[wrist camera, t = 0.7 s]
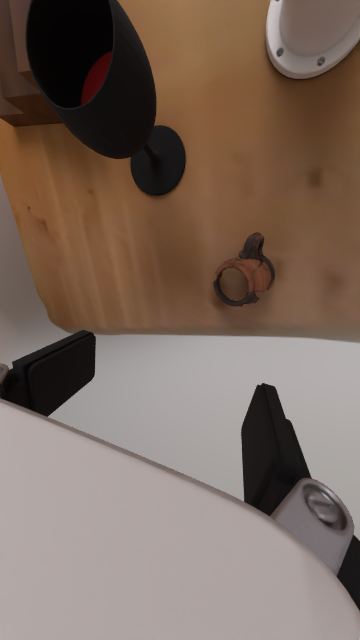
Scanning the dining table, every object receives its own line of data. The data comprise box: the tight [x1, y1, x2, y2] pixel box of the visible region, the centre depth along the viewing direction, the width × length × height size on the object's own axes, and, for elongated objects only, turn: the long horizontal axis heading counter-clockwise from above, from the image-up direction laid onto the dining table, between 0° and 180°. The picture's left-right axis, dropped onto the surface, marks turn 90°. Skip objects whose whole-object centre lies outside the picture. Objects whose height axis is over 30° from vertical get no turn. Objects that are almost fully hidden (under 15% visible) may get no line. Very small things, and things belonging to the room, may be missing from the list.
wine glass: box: [25, 0, 185, 196], centre depth 25 cm, size 10×10×20 cm
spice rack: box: [0, 0, 63, 126], centre depth 30 cm, size 21×15×10 cm
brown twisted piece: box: [213, 232, 275, 306], centre depth 33 cm, size 12×10×8 cm
